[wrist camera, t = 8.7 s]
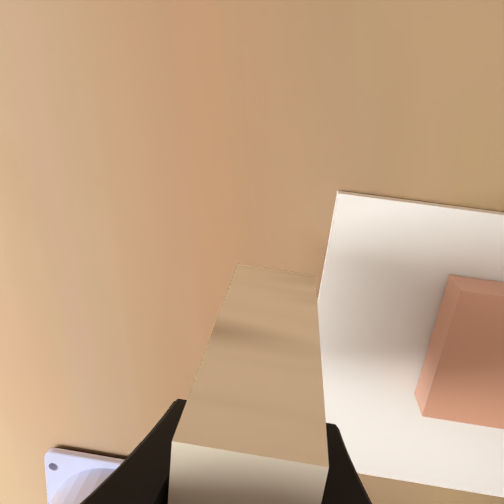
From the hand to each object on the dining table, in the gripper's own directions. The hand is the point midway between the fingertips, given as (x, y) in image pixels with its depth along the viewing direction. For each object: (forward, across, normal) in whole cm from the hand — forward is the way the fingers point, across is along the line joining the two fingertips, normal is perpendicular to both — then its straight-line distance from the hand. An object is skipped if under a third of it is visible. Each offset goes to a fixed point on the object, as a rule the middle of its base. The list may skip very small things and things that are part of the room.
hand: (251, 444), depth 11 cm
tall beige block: (+5, 0, +1) cm, 5 cm away
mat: (+10, -10, +3) cm, 15 cm away
